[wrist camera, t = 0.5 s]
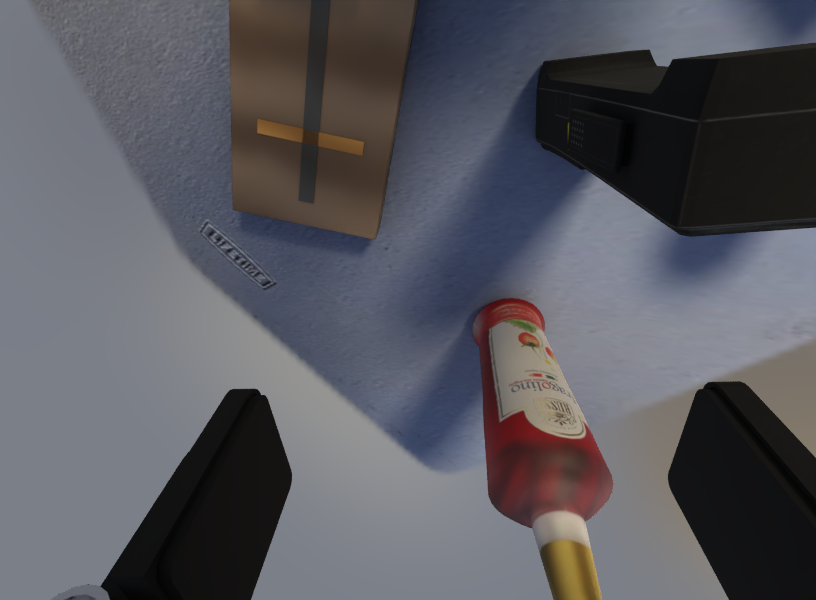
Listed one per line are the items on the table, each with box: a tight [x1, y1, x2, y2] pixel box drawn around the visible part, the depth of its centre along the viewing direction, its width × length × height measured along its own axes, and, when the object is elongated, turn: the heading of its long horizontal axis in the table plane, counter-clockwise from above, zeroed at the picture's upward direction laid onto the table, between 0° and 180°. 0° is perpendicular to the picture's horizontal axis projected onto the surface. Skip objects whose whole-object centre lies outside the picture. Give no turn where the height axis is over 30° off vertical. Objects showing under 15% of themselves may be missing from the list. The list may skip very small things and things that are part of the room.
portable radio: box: [536, 43, 816, 237], centre depth 21 cm, size 8×6×25 cm
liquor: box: [472, 298, 613, 600], centre depth 29 cm, size 7×7×28 cm
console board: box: [229, 0, 418, 240], centre depth 29 cm, size 26×12×3 cm, turn 169°
